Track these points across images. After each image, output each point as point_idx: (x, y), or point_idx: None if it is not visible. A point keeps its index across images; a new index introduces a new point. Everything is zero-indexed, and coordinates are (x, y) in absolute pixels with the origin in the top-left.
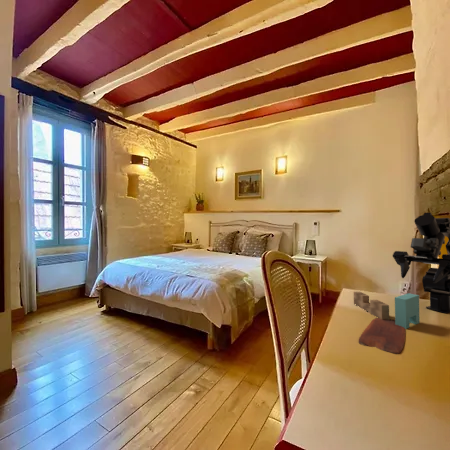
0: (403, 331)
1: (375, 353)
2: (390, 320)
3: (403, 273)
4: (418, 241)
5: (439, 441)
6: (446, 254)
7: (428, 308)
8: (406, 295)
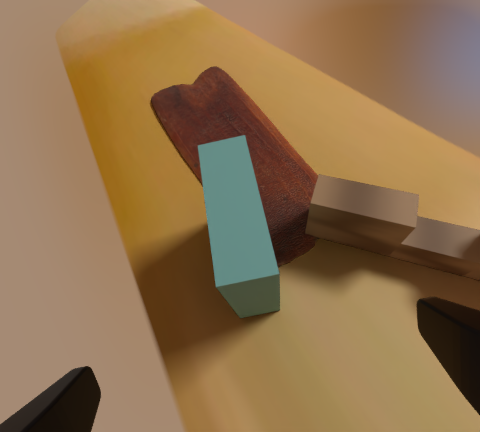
0: None
1: (175, 71)
2: (293, 225)
3: (451, 321)
4: None
5: (57, 31)
6: None
7: None
8: (245, 212)
